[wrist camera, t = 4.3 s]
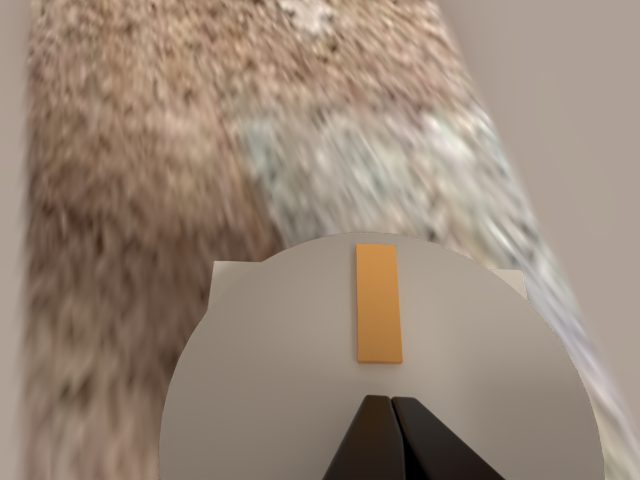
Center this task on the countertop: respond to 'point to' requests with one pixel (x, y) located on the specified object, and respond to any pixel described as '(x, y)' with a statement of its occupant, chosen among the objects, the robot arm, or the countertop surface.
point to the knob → (371, 363)
